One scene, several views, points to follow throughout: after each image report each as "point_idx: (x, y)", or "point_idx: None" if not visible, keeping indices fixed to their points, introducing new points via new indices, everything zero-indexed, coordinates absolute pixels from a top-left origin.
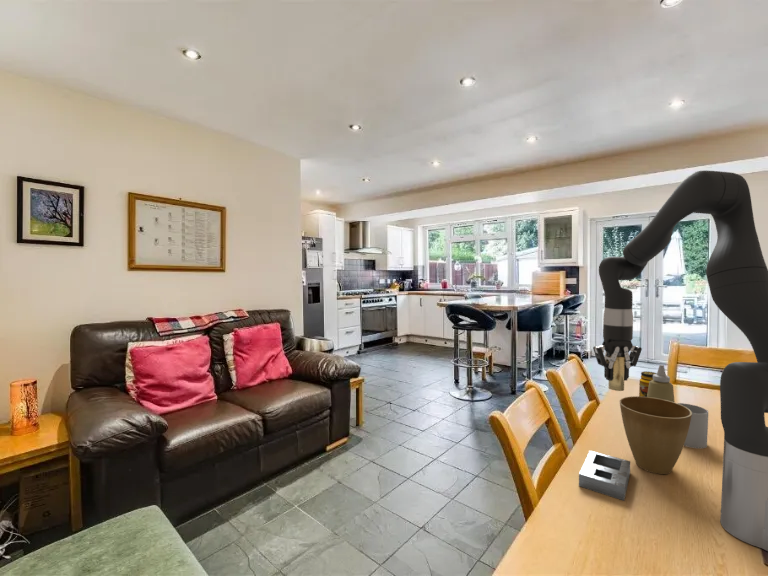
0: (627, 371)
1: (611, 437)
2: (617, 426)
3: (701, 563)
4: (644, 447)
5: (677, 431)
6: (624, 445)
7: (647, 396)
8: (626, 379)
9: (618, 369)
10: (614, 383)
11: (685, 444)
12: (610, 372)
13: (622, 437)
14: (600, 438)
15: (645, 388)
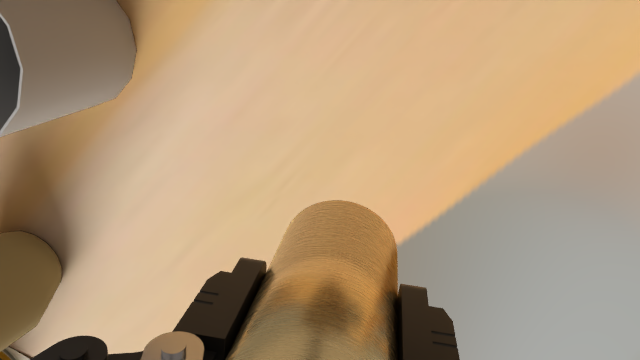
0: (209, 312)
1: (385, 137)
2: (271, 225)
3: None
4: None
5: None
6: (390, 54)
7: (6, 342)
8: (249, 261)
9: (348, 333)
10: (384, 256)
11: (113, 4)
12: (432, 343)
13: (334, 128)
14: (446, 137)
15: None
